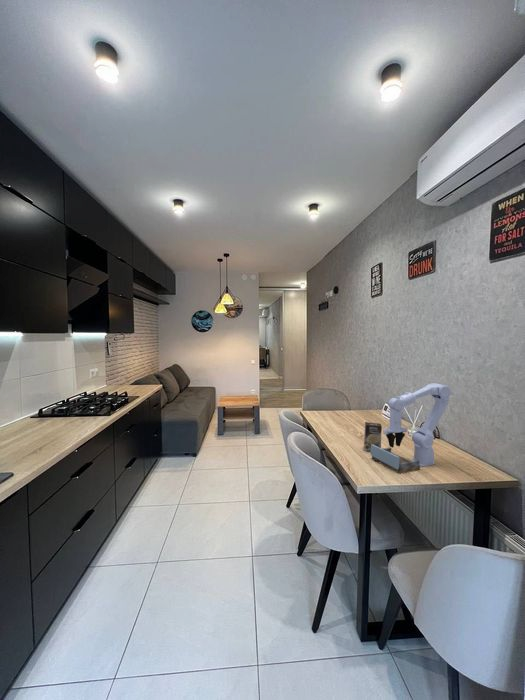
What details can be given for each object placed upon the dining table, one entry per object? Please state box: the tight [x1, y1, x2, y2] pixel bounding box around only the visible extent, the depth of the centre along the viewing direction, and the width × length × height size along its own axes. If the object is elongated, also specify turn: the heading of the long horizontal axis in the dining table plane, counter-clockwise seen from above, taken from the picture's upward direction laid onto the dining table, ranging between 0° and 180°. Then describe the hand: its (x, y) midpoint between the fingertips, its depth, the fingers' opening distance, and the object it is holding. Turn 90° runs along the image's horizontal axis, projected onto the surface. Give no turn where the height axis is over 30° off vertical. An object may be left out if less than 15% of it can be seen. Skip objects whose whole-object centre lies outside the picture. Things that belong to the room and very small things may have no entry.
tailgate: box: [370, 444, 401, 469], centre depth 156 cm, size 1×19×6 cm, turn 21°
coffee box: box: [363, 421, 383, 453], centre depth 177 cm, size 9×6×16 cm
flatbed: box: [371, 447, 421, 474], centre depth 159 cm, size 13×20×4 cm, turn 21°
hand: (394, 446), depth 158 cm, fingers open, 4 cm apart
